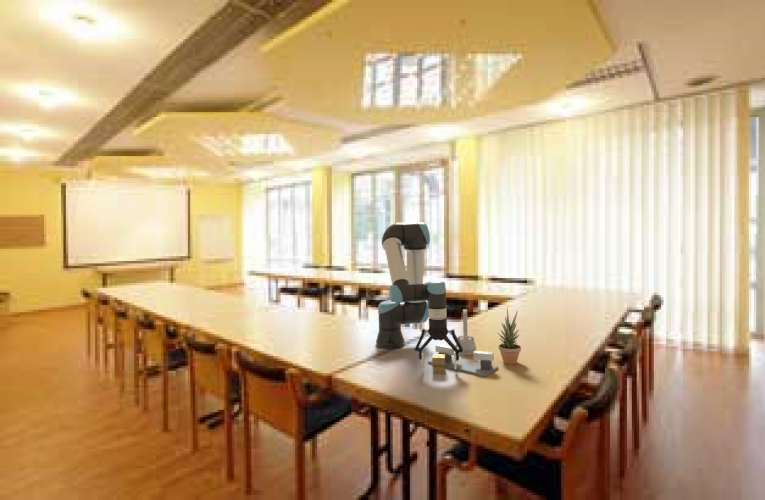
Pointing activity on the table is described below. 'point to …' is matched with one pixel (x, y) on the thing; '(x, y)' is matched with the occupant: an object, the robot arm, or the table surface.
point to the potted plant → (509, 342)
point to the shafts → (448, 350)
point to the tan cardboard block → (438, 363)
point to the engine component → (466, 338)
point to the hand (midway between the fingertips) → (439, 367)
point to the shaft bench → (469, 366)
